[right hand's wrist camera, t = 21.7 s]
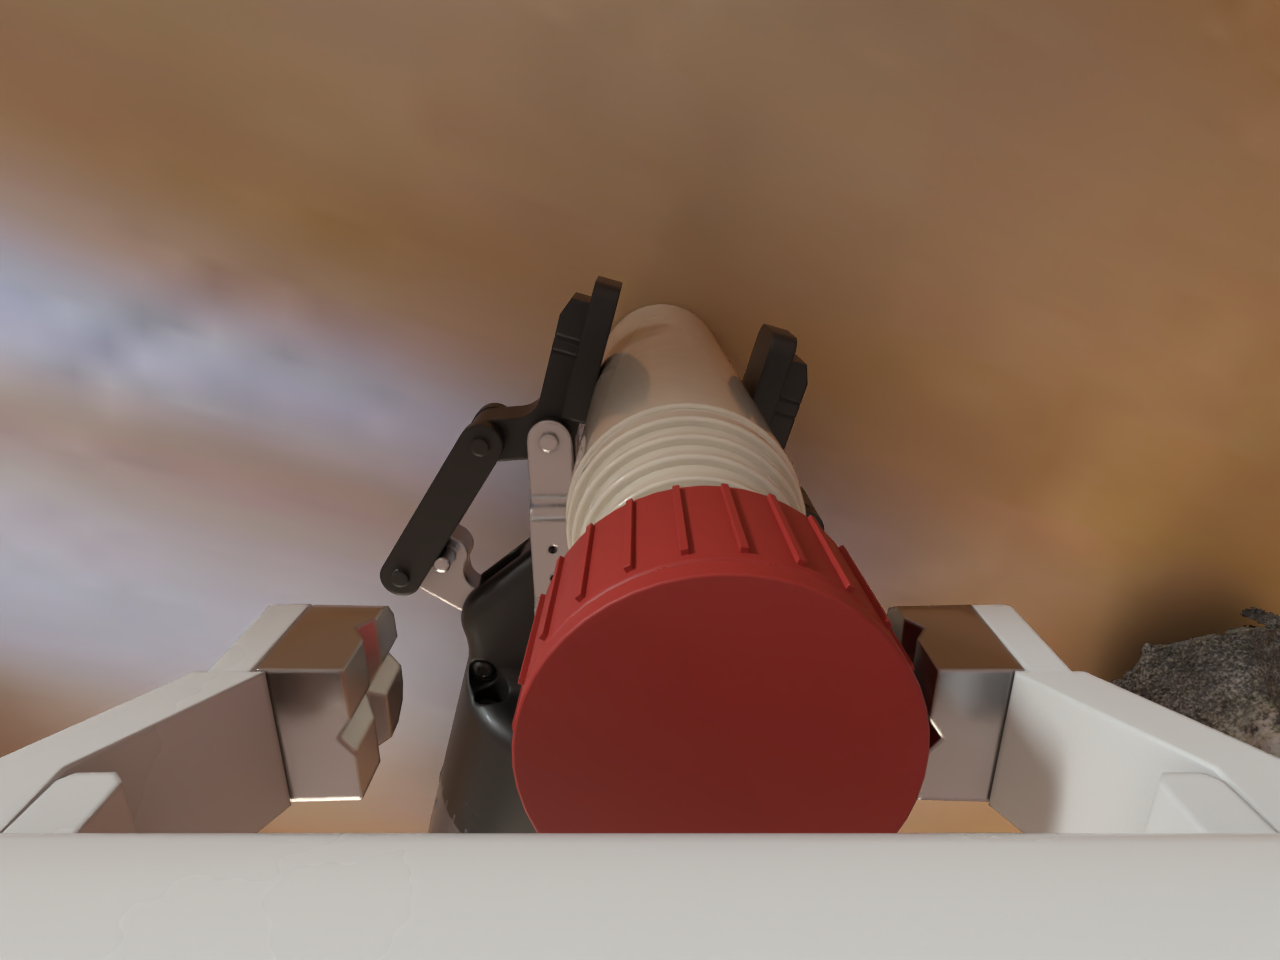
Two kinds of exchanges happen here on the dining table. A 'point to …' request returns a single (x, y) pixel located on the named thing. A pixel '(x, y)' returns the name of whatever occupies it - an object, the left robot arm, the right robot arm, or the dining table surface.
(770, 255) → the dining table surface
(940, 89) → the dining table surface
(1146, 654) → the rock
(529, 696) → the cap
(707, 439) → the bottle
